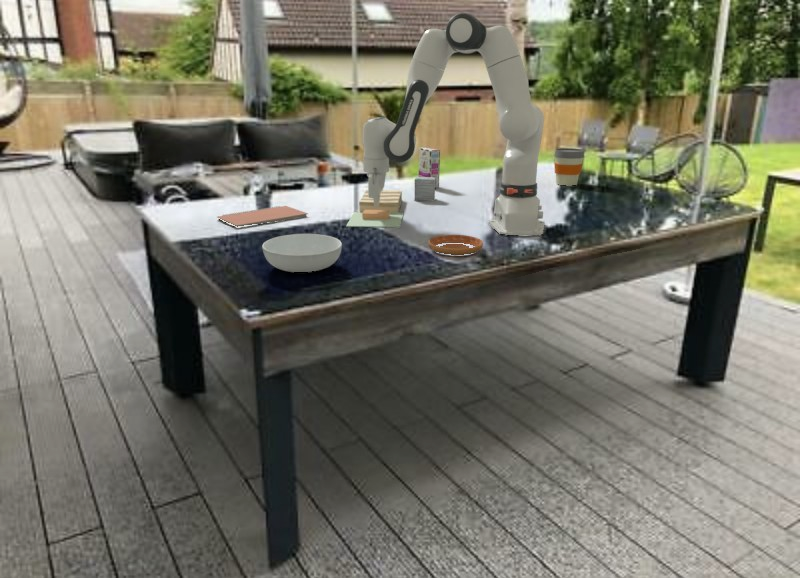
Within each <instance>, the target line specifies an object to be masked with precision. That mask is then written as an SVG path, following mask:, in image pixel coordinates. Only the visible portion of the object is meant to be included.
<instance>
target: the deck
mask: <svg viewBox="0 0 800 578" xmlns="http://www.w3.org/2000/svg"><path fill="white" fill-rule="evenodd" d="M402 192H403V191H402V190H396V189H395V190H394V189H393V190H391V189H389V190H385V189H384V190H382V192H381V194H380V205H379V206H378V207H375V206H374V200H373V198H369V196H368V189H367V190H366V189H365V192H364V194H363V196H362V197H361V198H360V200H359V206H358V207H359V211H358V212H363V211H364V210H390V213H399V212H398V211H400V208H401V204H402V201H403V193H402Z"/></svg>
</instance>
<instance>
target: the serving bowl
mask: <svg viewBox="0 0 800 578" xmlns="http://www.w3.org/2000/svg"><path fill="white" fill-rule="evenodd" d="M261 248H262V252H263V255H264V259H266V261H267V262H268V263H269V264H270V265H271V266H272V267H274V268H276V269H279V270H281V271H284V272H290V273H294V272H308V273H313V272H312V271H314V272H316V271H322V270H323V269H326V268H329V267H331V266H332V265H333V264H335V263H336V261H338V259H339V257H340V256H341V253H342V248H343V243H342V242H341V240H340V239H338V238H336V237H333V236H330V235H325V234H319V233H318V234H317V233H293V234H286V235H280V236H276V237H273V238H270V239H268V240H266V241H264V242H263V244H262V246H261Z"/></svg>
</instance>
